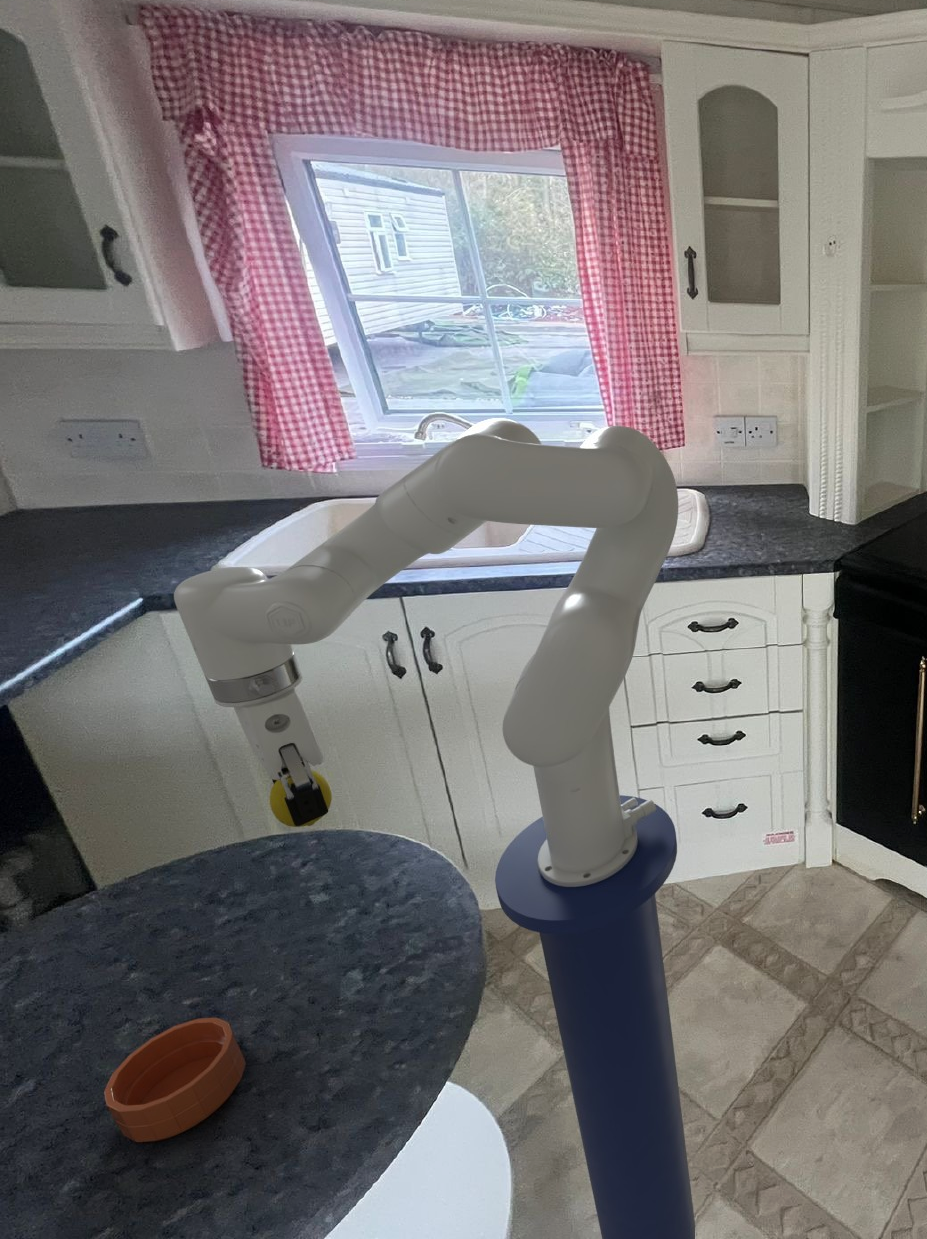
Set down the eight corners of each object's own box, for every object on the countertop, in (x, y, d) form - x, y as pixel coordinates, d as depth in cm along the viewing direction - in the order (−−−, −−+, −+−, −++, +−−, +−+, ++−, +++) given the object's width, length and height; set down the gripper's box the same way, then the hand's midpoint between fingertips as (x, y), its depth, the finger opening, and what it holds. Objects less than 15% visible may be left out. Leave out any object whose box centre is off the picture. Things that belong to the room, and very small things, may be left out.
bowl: (235, 1034, 76) (220, 1001, 74) (256, 1091, 71) (240, 1056, 69) (118, 1100, 70) (99, 1066, 68) (132, 1168, 65) (111, 1132, 63)
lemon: (348, 818, 90) (330, 765, 86) (296, 847, 85) (275, 792, 82) (324, 803, 92) (305, 751, 89) (272, 831, 87) (250, 777, 84)
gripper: (319, 691, 78) (364, 823, 85) (278, 639, 88) (321, 761, 95) (228, 722, 73) (284, 860, 80) (195, 663, 83) (247, 791, 90)
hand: (304, 805), depth 87 cm, fingers closed on lemon, 5 cm apart
